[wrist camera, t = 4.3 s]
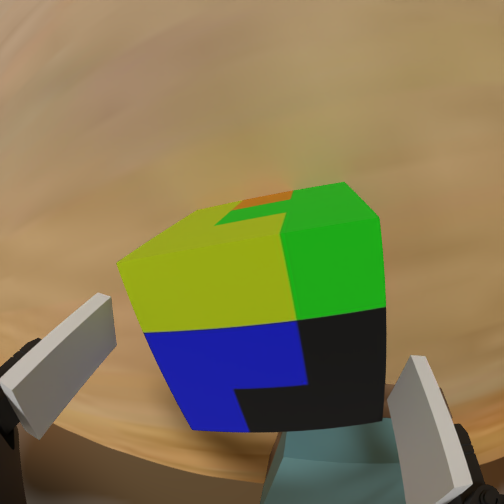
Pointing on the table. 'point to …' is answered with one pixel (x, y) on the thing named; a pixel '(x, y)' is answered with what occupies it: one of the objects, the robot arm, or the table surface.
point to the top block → (336, 467)
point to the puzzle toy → (268, 311)
